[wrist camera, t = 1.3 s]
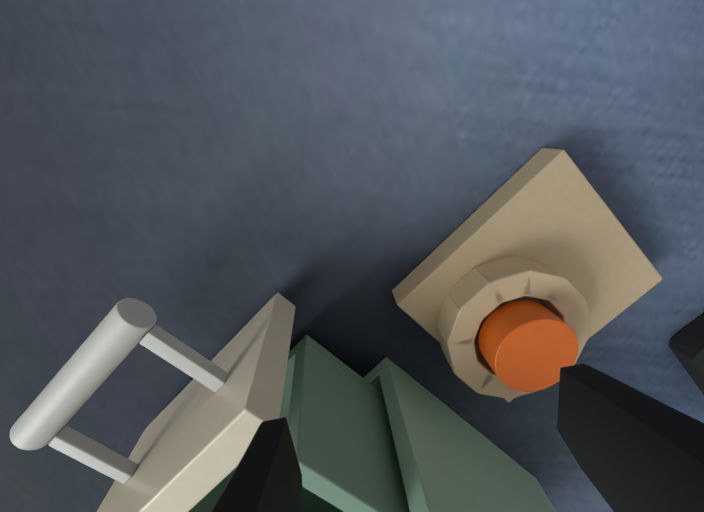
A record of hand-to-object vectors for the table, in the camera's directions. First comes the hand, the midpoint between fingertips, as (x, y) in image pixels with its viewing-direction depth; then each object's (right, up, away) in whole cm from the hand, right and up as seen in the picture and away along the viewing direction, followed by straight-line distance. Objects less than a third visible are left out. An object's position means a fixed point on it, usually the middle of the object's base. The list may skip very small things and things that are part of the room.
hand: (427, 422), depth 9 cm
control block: (+7, +3, +10) cm, 12 cm away
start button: (+6, +1, +7) cm, 9 cm away
